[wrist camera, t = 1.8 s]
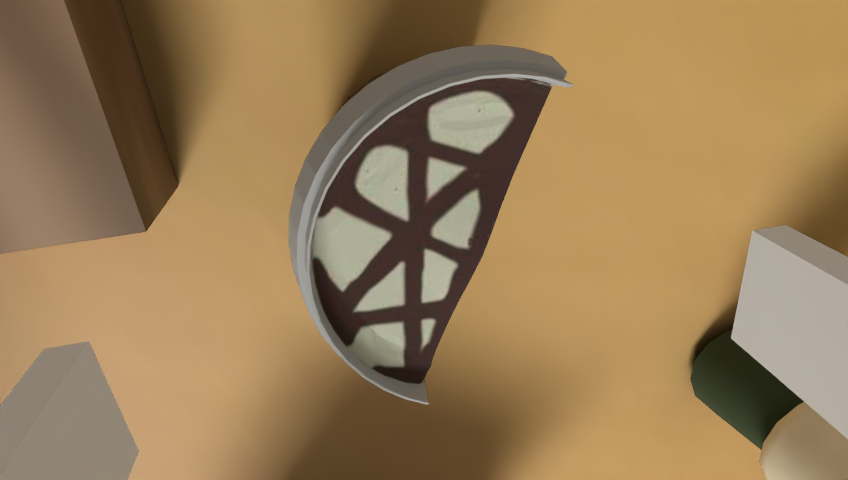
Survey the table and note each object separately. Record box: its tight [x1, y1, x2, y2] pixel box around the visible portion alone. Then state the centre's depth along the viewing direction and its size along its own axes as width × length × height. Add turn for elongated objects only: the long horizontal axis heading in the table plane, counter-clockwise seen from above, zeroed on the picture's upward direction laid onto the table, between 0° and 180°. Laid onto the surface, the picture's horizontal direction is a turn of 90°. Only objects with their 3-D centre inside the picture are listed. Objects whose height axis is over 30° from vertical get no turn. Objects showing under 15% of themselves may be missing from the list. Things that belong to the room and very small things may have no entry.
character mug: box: [691, 329, 848, 480], centre depth 28 cm, size 11×7×13 cm, turn 152°
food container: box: [289, 45, 573, 405], centre depth 20 cm, size 12×6×10 cm, turn 159°
